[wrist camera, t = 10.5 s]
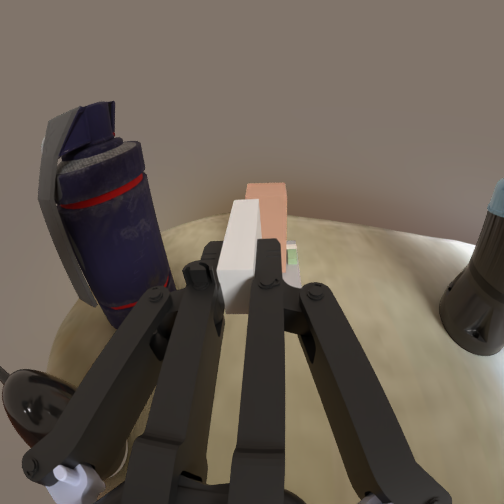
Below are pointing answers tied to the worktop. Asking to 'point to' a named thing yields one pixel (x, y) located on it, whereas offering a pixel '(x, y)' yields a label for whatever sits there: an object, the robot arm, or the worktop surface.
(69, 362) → the worktop surface
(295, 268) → the gauge base
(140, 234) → the navy red-striped canister
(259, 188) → the tall salmon pillar
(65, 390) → the pump dispenser
